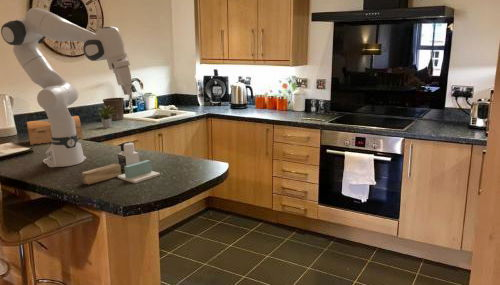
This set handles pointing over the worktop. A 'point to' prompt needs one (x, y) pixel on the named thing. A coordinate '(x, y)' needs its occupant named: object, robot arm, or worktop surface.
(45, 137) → the wooden box
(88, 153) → the worktop surface
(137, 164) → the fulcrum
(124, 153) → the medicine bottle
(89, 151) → the worktop surface
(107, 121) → the house plant
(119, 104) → the plant pot
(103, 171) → the batten
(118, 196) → the worktop surface
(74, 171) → the worktop surface
